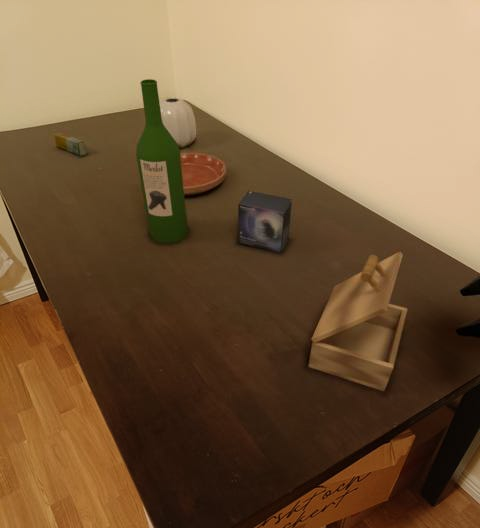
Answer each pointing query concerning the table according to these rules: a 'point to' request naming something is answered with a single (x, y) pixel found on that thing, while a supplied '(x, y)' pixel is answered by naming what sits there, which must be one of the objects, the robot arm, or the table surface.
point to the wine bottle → (160, 173)
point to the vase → (178, 120)
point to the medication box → (70, 144)
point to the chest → (362, 349)
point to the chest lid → (359, 297)
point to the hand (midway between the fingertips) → (459, 311)
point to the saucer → (201, 172)
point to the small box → (264, 221)
